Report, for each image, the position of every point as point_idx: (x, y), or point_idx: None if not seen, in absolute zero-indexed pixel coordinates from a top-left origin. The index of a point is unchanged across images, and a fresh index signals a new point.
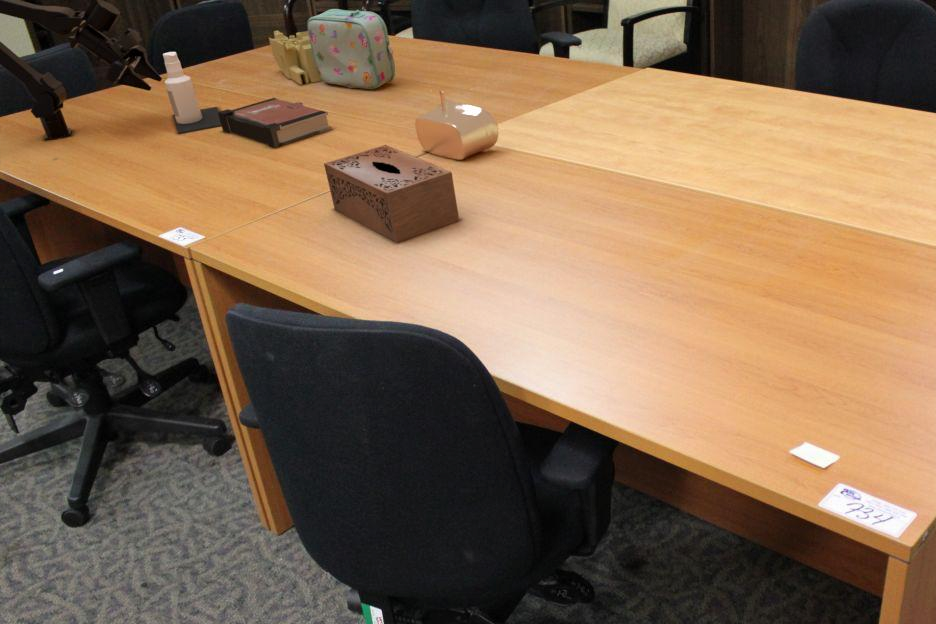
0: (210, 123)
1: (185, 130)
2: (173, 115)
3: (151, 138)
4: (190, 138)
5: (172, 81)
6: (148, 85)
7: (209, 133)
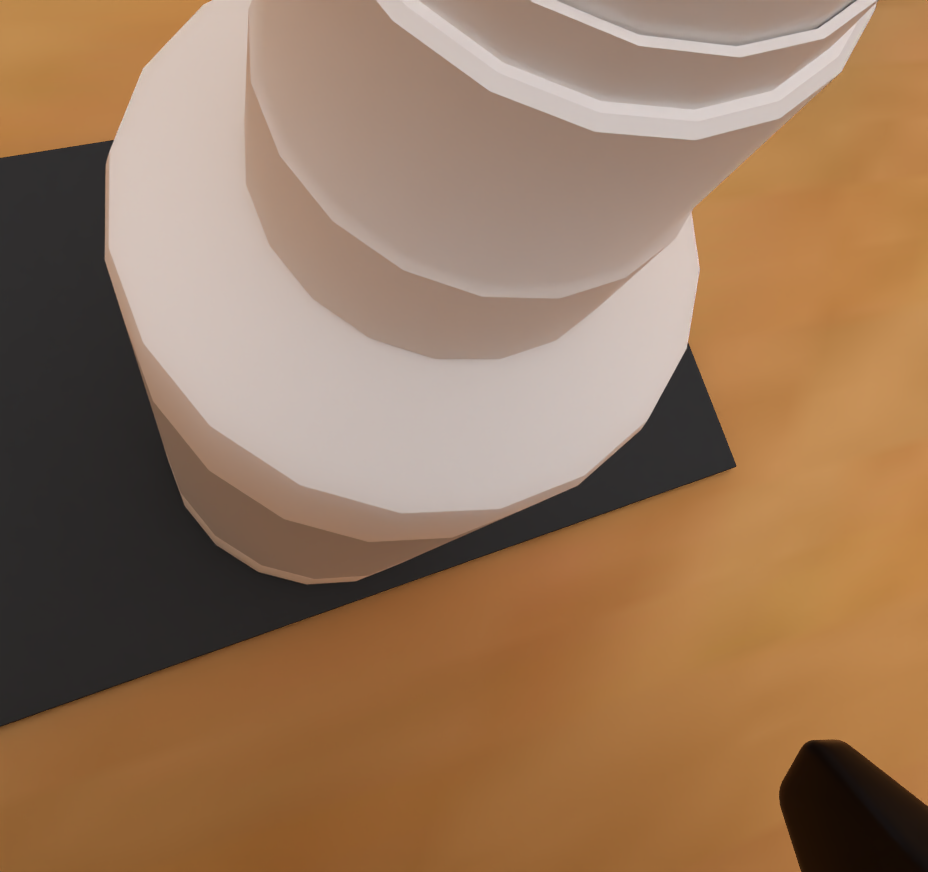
0: None
1: (678, 408)
2: None
3: (805, 730)
4: (870, 327)
5: (683, 263)
6: (902, 787)
7: (770, 184)
